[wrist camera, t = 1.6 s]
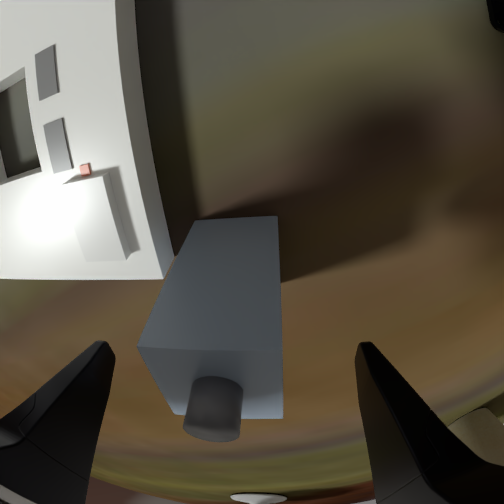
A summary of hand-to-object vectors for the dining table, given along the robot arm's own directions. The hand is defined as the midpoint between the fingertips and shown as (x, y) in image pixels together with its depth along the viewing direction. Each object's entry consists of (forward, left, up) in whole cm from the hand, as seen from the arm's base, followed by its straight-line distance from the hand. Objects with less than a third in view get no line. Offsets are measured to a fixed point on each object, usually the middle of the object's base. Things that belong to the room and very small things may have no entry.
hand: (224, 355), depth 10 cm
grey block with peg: (0, 0, -7) cm, 7 cm away
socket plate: (+12, -9, -7) cm, 16 cm away
